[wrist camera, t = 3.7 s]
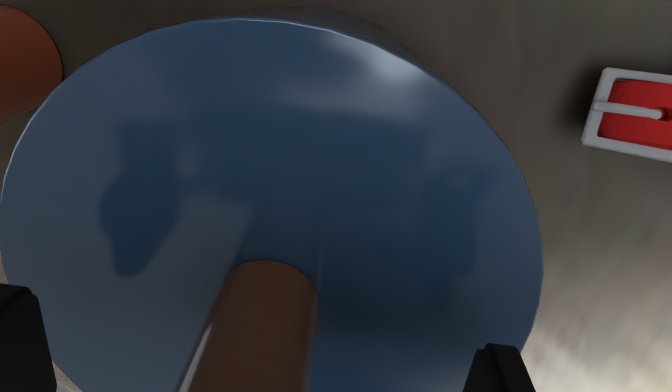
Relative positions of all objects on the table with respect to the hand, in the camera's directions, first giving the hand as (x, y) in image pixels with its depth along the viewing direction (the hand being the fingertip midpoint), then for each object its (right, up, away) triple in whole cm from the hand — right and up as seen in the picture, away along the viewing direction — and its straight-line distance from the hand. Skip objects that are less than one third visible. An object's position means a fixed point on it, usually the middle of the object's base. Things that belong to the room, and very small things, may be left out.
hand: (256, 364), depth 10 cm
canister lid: (0, +1, +2) cm, 3 cm away
